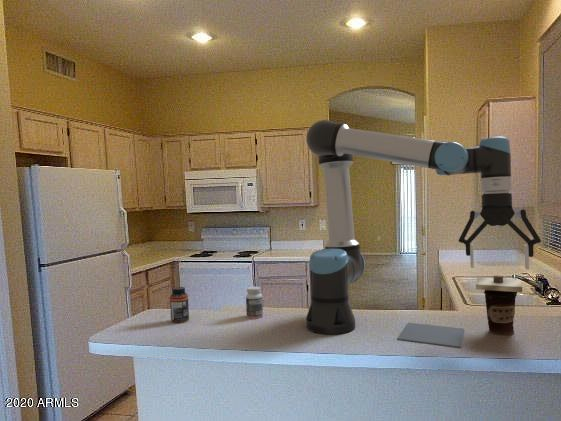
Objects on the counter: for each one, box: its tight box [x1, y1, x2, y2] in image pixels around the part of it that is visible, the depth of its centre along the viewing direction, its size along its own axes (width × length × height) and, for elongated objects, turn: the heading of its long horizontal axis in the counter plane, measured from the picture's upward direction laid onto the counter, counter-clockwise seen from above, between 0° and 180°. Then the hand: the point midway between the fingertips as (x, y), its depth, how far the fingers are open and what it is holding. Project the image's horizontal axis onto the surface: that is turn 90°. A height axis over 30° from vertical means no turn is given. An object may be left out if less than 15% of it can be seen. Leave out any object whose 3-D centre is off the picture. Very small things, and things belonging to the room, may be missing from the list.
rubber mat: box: [396, 322, 465, 349], centre depth 114 cm, size 16×16×1 cm
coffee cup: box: [483, 290, 518, 336], centre depth 114 cm, size 9×8×13 cm
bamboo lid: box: [475, 274, 523, 293], centre depth 114 cm, size 11×11×3 cm
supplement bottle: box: [169, 286, 190, 324], centre depth 135 cm, size 6×6×11 cm
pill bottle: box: [245, 286, 264, 319], centre depth 138 cm, size 6×6×10 cm
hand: (499, 268), depth 113 cm, fingers open, 13 cm apart
